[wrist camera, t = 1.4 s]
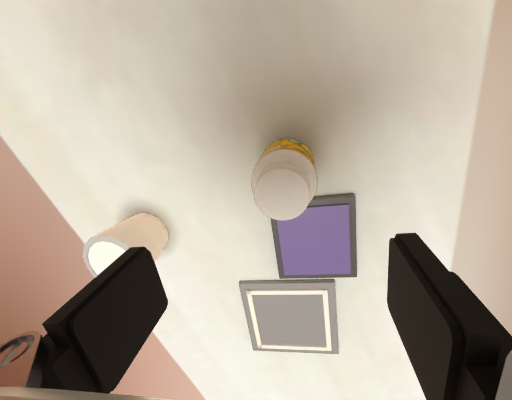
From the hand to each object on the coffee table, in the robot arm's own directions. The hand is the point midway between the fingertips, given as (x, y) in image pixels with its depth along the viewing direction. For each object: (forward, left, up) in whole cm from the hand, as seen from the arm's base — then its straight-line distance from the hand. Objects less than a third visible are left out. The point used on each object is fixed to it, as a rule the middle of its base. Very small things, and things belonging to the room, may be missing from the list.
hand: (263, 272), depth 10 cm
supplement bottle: (0, 0, -18) cm, 18 cm away
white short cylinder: (+7, -19, -18) cm, 27 cm away
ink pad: (+9, +2, -18) cm, 20 cm away
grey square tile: (+21, -2, -18) cm, 28 cm away
